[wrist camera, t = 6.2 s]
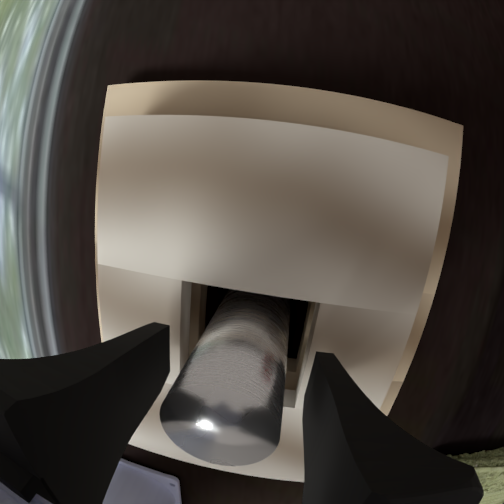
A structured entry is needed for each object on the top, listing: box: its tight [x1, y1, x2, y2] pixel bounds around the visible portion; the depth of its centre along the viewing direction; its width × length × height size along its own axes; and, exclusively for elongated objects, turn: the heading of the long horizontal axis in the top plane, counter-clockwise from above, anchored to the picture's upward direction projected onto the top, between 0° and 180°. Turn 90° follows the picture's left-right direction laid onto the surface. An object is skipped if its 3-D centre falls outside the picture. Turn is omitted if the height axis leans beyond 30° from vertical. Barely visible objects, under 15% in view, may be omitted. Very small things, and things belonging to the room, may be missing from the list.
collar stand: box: [95, 80, 463, 482], centre depth 13 cm, size 20×16×4 cm
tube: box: [159, 289, 290, 466], centre depth 11 cm, size 3×3×8 cm
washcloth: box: [447, 447, 504, 504], centre depth 16 cm, size 13×18×3 cm
